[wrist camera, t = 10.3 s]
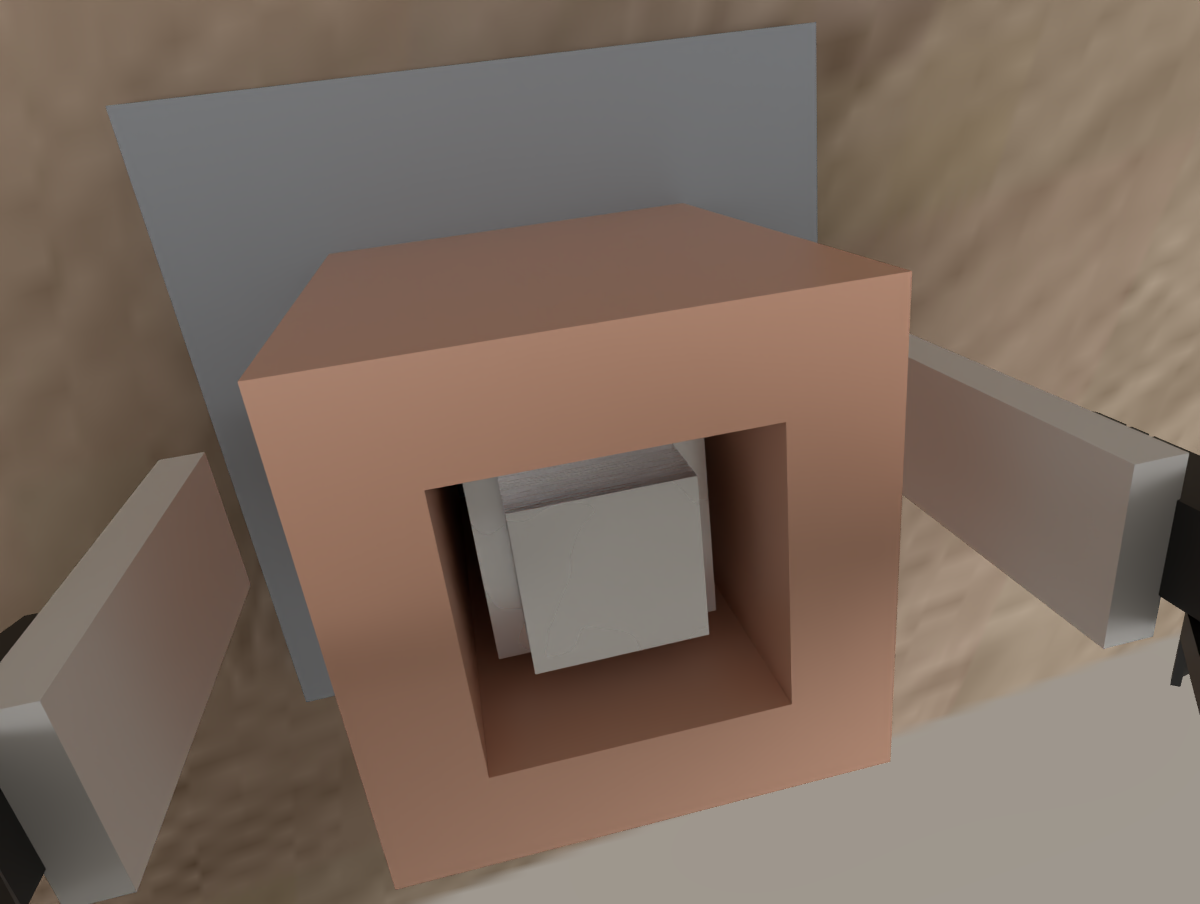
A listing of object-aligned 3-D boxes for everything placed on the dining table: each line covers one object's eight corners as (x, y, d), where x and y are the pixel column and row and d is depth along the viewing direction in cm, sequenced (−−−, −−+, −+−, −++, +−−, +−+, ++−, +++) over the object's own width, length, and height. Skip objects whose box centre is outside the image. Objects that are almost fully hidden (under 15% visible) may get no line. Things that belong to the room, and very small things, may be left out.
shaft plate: (312, 672, 21) (306, 702, 20) (126, 107, 16) (105, 105, 15) (801, 564, 23) (819, 586, 22) (791, 28, 18) (815, 22, 17)
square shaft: (472, 479, 19) (506, 710, 11) (443, 333, 17) (459, 487, 10) (619, 451, 19) (742, 654, 12) (603, 306, 18) (731, 434, 11)
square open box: (406, 568, 19) (395, 890, 11) (328, 254, 16) (237, 381, 8) (703, 508, 20) (890, 762, 12) (682, 202, 17) (912, 270, 9)
